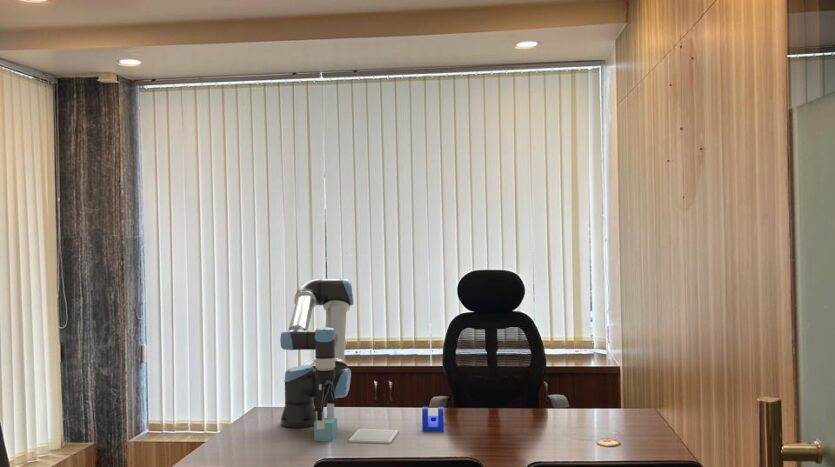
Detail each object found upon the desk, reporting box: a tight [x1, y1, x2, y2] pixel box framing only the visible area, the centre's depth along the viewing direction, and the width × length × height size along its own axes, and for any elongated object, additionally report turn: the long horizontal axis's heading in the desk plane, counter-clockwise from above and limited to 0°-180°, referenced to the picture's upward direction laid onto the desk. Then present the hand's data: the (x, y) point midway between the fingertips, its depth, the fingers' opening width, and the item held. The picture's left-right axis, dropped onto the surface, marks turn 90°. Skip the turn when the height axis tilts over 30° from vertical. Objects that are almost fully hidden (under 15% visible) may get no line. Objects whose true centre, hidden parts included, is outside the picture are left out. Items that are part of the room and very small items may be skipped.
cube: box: [313, 417, 338, 442], centre depth 294 cm, size 7×7×7 cm
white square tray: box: [348, 428, 399, 445], centre depth 295 cm, size 16×16×1 cm
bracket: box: [421, 406, 445, 433], centre depth 311 cm, size 18×8×9 cm, turn 178°
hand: (325, 424), depth 293 cm, fingers open, 13 cm apart
